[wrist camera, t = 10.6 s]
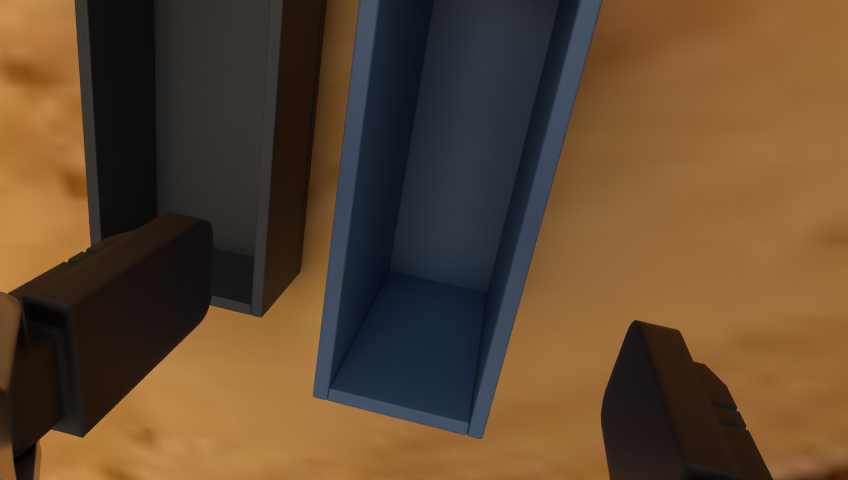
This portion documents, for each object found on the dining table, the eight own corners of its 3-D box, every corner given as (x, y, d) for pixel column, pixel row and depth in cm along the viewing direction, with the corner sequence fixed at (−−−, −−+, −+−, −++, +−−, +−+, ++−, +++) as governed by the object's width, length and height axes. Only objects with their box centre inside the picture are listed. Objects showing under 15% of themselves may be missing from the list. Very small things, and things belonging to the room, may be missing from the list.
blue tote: (431, -54, 22) (369, -92, 13) (579, -27, 21) (615, -48, 13) (380, 272, 27) (312, 397, 19) (496, 299, 27) (482, 440, 18)
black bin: (147, -136, 22) (62, -168, 18) (336, -103, 22) (292, -127, 18) (154, 237, 29) (92, 277, 25) (300, 272, 28) (261, 318, 24)
